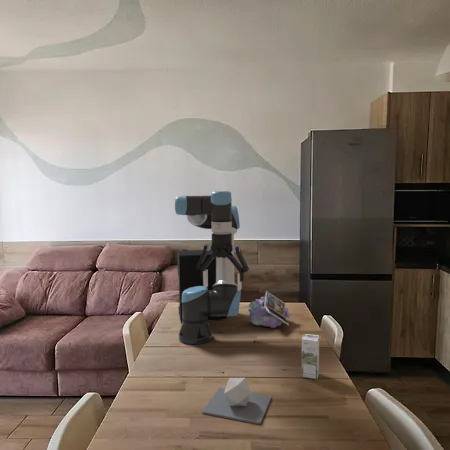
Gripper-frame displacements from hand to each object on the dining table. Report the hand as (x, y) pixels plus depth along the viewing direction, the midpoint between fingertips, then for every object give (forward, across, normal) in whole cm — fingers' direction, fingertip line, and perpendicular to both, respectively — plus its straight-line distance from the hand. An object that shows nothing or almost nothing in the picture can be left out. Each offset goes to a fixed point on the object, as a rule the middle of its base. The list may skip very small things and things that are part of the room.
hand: (222, 288), depth 147 cm
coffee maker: (+32, -29, +54) cm, 69 cm away
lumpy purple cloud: (+32, +7, +50) cm, 60 cm away
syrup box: (+30, +33, +1) cm, 45 cm away
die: (+29, +14, -26) cm, 41 cm away
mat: (+29, +14, -26) cm, 41 cm away
